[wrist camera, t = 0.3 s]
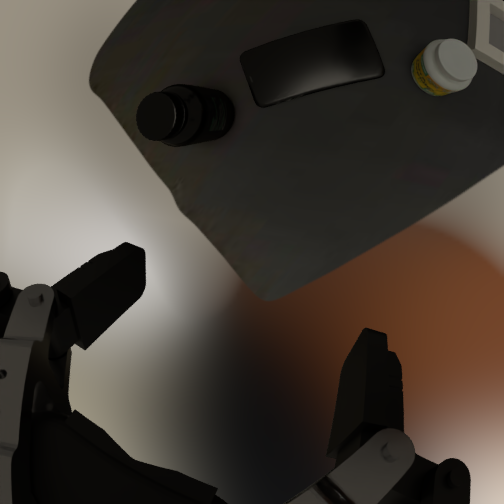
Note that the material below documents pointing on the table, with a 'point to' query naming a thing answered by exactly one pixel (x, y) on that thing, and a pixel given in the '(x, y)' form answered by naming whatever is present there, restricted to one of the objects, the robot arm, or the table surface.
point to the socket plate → (487, 32)
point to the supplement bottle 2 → (444, 67)
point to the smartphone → (311, 62)
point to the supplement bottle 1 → (185, 115)
